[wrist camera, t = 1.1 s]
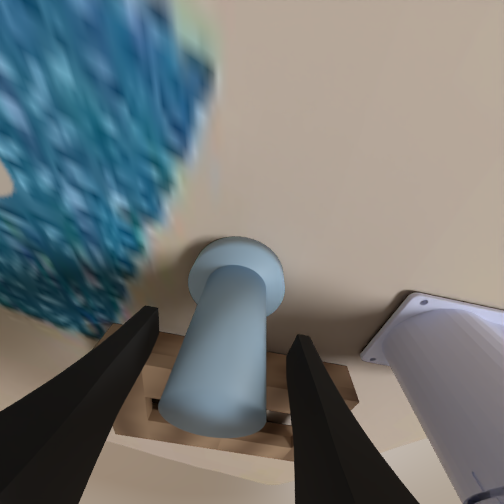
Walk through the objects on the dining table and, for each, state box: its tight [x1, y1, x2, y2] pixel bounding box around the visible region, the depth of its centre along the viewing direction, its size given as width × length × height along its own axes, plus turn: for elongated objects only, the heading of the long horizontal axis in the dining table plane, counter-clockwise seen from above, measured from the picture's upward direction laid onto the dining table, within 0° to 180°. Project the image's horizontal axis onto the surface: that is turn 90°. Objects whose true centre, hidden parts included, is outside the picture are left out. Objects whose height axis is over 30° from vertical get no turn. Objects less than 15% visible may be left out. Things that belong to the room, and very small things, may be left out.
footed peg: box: [158, 236, 285, 438], centre depth 11 cm, size 6×6×8 cm
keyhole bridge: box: [93, 323, 359, 462], centre depth 22 cm, size 22×16×3 cm
